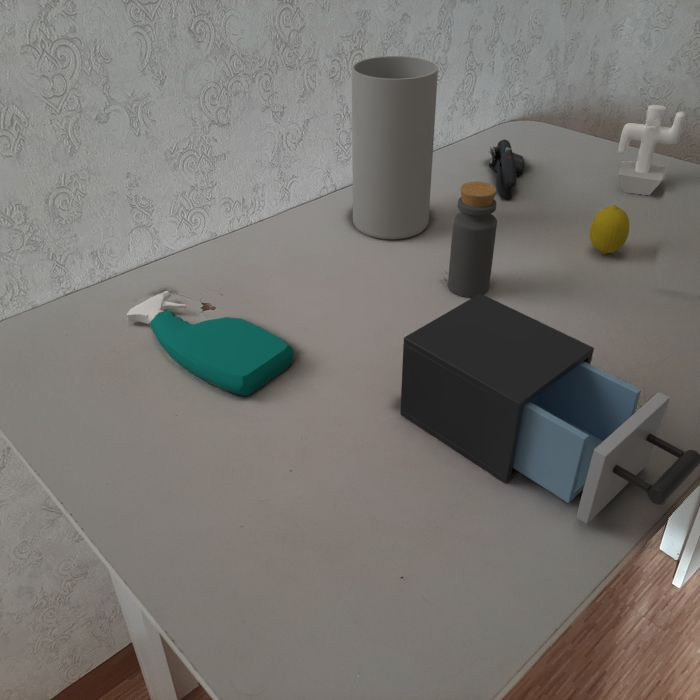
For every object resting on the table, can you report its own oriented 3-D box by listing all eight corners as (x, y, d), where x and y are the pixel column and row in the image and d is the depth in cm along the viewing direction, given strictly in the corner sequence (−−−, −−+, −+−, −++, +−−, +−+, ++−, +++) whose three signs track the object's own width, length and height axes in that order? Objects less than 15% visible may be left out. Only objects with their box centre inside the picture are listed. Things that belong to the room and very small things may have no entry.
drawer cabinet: (575, 425, 78) (594, 347, 72) (505, 484, 72) (519, 403, 65) (471, 367, 87) (480, 292, 81) (400, 414, 80) (403, 337, 74)
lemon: (584, 259, 108) (594, 211, 104) (586, 243, 113) (596, 195, 108) (622, 265, 107) (634, 216, 102) (623, 248, 111) (635, 200, 106)
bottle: (439, 282, 103) (447, 184, 94) (473, 273, 105) (483, 176, 97) (462, 301, 99) (473, 201, 90) (497, 291, 101) (510, 192, 92)
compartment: (696, 490, 70) (723, 422, 64) (636, 556, 63) (661, 488, 58) (536, 401, 80) (548, 337, 75) (472, 450, 74) (480, 384, 69)
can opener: (486, 162, 140) (489, 134, 136) (523, 164, 139) (527, 136, 136) (485, 200, 126) (488, 170, 122) (525, 203, 125) (530, 172, 121)
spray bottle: (238, 405, 82) (110, 331, 94) (303, 360, 88) (175, 297, 101) (235, 385, 80) (105, 312, 93) (301, 341, 87) (171, 279, 100)
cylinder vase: (411, 247, 112) (419, 83, 97) (340, 232, 116) (337, 73, 102) (438, 215, 121) (449, 61, 106) (371, 202, 125) (373, 52, 111)
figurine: (612, 178, 133) (630, 96, 124) (666, 186, 130) (688, 102, 121) (607, 193, 128) (625, 108, 119) (663, 201, 125) (686, 115, 116)
